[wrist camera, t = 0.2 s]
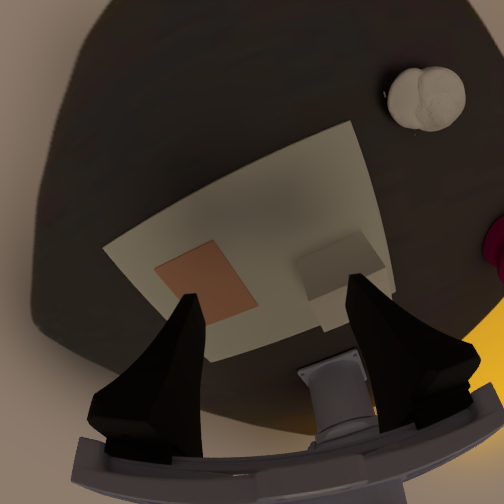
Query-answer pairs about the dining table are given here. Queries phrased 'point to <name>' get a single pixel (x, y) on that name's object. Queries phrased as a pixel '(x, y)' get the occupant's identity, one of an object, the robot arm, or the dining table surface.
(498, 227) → the pepper mill
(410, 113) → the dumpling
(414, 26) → the dining table surface
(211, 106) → the dining table surface
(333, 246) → the plain grayish brown block
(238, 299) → the flat orange brown slab
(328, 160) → the mat
